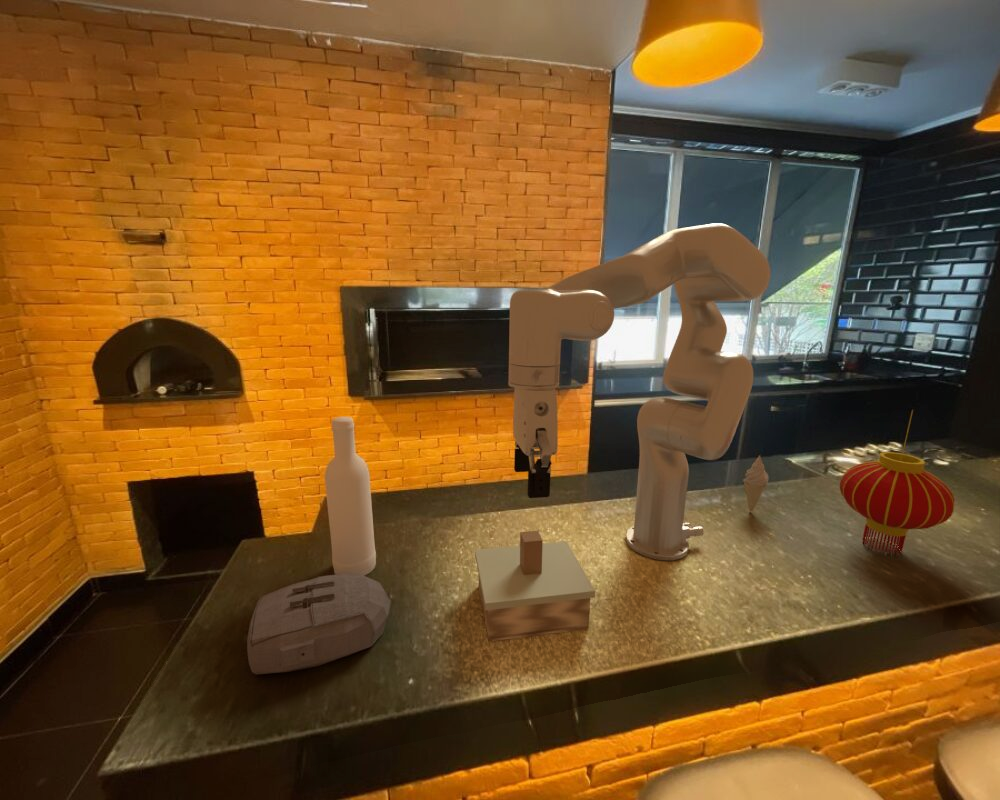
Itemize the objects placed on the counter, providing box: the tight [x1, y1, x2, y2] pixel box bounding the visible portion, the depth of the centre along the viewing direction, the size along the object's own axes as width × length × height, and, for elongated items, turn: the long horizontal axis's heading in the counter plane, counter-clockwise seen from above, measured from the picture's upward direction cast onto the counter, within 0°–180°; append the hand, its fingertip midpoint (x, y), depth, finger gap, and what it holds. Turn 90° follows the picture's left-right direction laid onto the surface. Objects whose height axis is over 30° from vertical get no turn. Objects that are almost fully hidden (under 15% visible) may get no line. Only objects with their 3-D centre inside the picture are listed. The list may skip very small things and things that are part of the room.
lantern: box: [839, 409, 955, 554], centre depth 86 cm, size 17×17×30 cm
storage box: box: [477, 574, 591, 643], centre depth 71 cm, size 16×13×6 cm
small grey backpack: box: [246, 574, 392, 675], centre depth 65 cm, size 15×8×20 cm
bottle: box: [324, 416, 377, 576], centre depth 79 cm, size 8×8×30 cm
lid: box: [474, 530, 596, 610], centre depth 70 cm, size 17×14×8 cm
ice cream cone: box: [742, 454, 769, 512], centre depth 102 cm, size 5×5×15 cm
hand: (530, 483), depth 67 cm, fingers open, 9 cm apart
